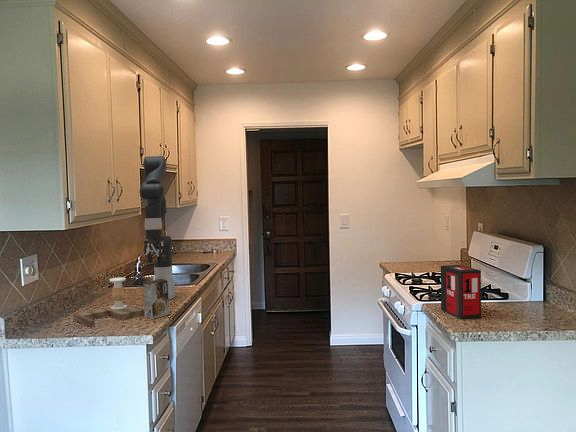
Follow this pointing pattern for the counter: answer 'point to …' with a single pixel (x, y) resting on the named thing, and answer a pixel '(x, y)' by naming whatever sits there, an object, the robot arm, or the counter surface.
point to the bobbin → (118, 293)
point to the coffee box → (156, 298)
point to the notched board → (107, 314)
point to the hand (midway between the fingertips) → (154, 263)
